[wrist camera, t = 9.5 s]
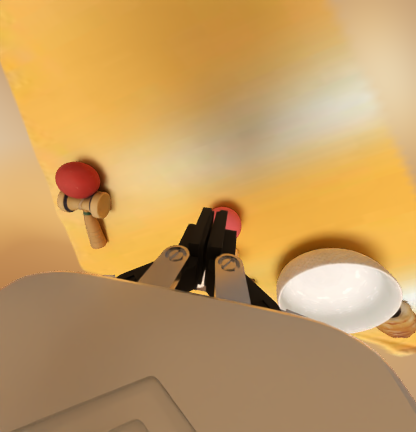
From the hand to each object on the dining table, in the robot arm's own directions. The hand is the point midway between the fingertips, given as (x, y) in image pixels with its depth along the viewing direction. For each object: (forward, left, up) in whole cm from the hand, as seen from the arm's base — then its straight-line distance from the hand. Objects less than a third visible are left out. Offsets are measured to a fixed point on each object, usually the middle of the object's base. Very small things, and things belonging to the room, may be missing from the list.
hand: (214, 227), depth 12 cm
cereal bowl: (+18, +19, -17) cm, 31 cm away
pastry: (+26, +35, -18) cm, 47 cm away
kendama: (+10, -25, -18) cm, 32 cm away
